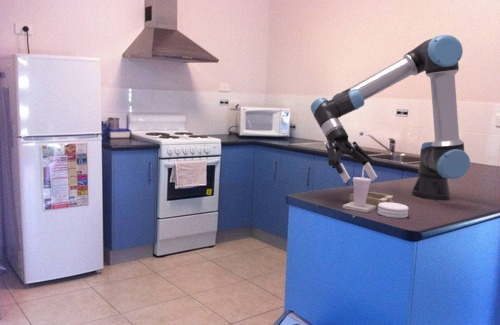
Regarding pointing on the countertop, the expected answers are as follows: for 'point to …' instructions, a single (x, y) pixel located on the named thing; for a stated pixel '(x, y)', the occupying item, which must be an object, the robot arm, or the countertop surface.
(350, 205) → the tile
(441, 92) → the robot arm
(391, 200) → the square wooden frame
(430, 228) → the countertop surface
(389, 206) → the coaster
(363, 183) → the smoothie
